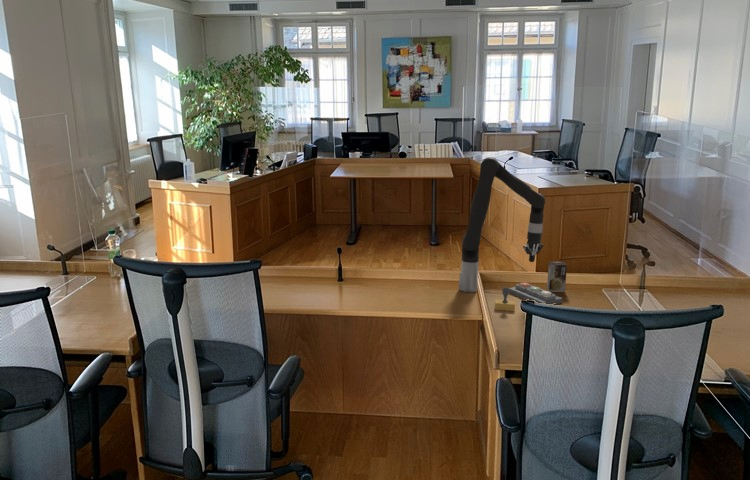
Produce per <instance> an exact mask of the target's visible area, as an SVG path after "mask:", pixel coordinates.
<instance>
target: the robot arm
mask: <svg viewBox="0 0 750 480" xmlns="http://www.w3.org/2000/svg"><path fill="white" fill-rule="evenodd" d="M495 178H497V179H498V180H500V181H501V182H503V184H505V185H506V186H507V187H508V188H509V189H510V190H511V191H513V192H514V193H515V194H517V195H518V196H520V197H521V198H522V199H524V200H525V201H526V202H527V203H528V204H530V206H531V207H530V214H529V221H528V226H527V232H526V233H527V234H526V239H527V241H526V244H525V245H523V246H522V247H523V250H524V252H525V254H526V255H529V256H528V261H529V262H530V263H534V262H535V260H536V255H537V254H539V253H540V252H541V250H542V249H543V248H544V244H543V243H541V241H542V236H543V227H544V225H543V222H544V210H545V204H546V198H545V195H544V194H543V193H540V192H537V191H535V190H534V189H533V188H532V187H531V185H529V184H527V183H526V182H524V181H523V180H522V179H520V178H519V177H517V176H515V174H513V173H511V172H510V171H508V170H507V169H506V168H505V167H504V166H503V165H502V164H501V163H500V162H499V161H498V160H497V159H496V158H495V157H493V156H488V157H485V158H484V159H483V160H482V161H481V163H480V171H479V175H478V182H477V186H476V189H475V190H474V193H473V197H472V201H471V205H470V211H469V218H468V219H469V222H468V227H467V230H466V232H465V233H464V235H463V236H462V242H461V269H460V270H461V271H460V273H459V280H458V281H459V283H458V291H461V292H463V293H475V292H477V290H478V278H479V261H480V260H479V259H480V257H479V255H480V253H479V252H480V243H481V237H482V236H481V235H482V230H483V225H484V223H485V221H486V217H487V215H488V210H489V206H490V202H491V198H492V187H493V186H492V185H493V184H494V183H493V182H494V179H495Z"/></svg>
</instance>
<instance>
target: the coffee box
mask: <svg viewBox="0 0 750 480" xmlns="http://www.w3.org/2000/svg"><path fill="white" fill-rule="evenodd" d="M547 268H548V270H547V280H546V281H547V283H546V291H549V292H551V293H566V281H567V269H568V265H567V263H566V261H548V267H547Z"/></svg>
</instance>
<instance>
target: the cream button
mask: <svg viewBox="0 0 750 480" xmlns="http://www.w3.org/2000/svg"><path fill="white" fill-rule="evenodd" d="M551 293H552V292H549V291H548V290H545V291H542V292H541V295H544V296H546V297H547V296H551Z"/></svg>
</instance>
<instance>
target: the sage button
mask: <svg viewBox="0 0 750 480" xmlns="http://www.w3.org/2000/svg"><path fill="white" fill-rule="evenodd" d="M540 289H541V288H540V287H538V286H534V287H531V291H534V292H538V291H540Z"/></svg>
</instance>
